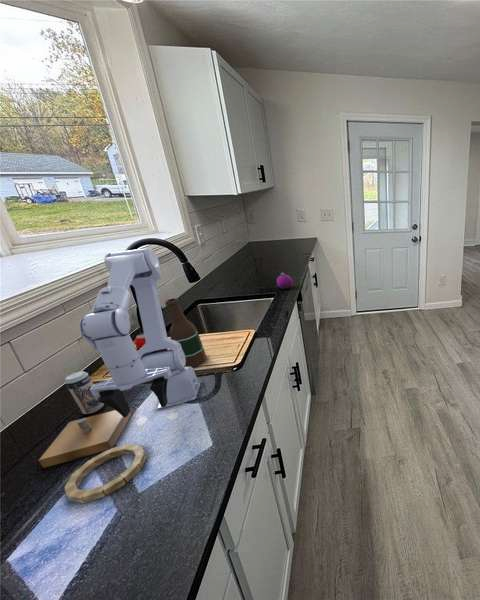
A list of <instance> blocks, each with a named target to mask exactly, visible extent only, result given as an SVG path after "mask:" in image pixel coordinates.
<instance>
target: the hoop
mask: <svg viewBox="0 0 480 600" xmlns="http://www.w3.org/2000/svg"><path fill="white" fill-rule="evenodd" d="M124 455H131V456H135V457H134V459H133V461H132V463H131V465H130V466H129V467H128V468H127V469H125V470H124V471H123V472H122V473H121V474H120V475H118V476H117V477H115V478H114V479H112V480H110V481H108V482H107V483H105V484H103V485H101V486H98V487H94V488H91V489H87V490H86V489H79V487H80V485H81V483H82V482H83V480H84V479H85V477H87V476H88V474H90V473H91V472H92V471H93V470H94V469H96V468H97V467H99V466H100V465H102V464H104V463H106V462H108V461H109V460H112V459H114V458H117V457H121V456H124ZM146 461H147V454H146V452H145V450H144V449H143V446H141V445H140V444H136V443H135V444H134V443H125V444H123V445H119V446H115V447H113V448H111V449H109V450H105V451H102V452H100V454H97V455H95V456H94V457H92V458H91V459H89V460H87V461H86V462H85V463H84V464H82V465H81V466H80V467H79V468H78V469H76V470H74V472H73V473H72V474H71V476H70V478H68V480H67V482H66V483H65V485H64V492H65V495H66V498H67V499H68V500H69V502H72V503H80V504H86V503H89V502H93V501H95V500H98V499H102V498H105V497H106V496H110V494H112V493H114V492H115V491H118V490H119V489H120V488H122V487H124V486H125V485H126V484H128V483H129V482H130V481H131V480H132V479H133V478H135V476H136V475H137V474H138V473H139V472H140V471H141V470H142V469H143V467H144V465H145V462H146Z"/></svg>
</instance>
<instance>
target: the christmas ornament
mask: <svg viewBox="0 0 480 600" xmlns="http://www.w3.org/2000/svg"><path fill="white" fill-rule="evenodd" d="M276 285H277V287H278V288H279V289H282V290H288V289H290V288H291V287H292V285H293V279H292V277H291V276H290V275H289V274H285V272H283V271H281V273H280V275H279V276H278V277H277V278H276Z"/></svg>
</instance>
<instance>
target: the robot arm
mask: <svg viewBox="0 0 480 600" xmlns="http://www.w3.org/2000/svg"><path fill="white" fill-rule="evenodd" d="M104 265H105V267H106V270H107V271H108V272H109V274H108V279H107V285H106V286H105V287H103V288H101V289H100V290H99V291H98V293H97V295H96V298H95V301H94V303H93V306H92V309H91V311H90V313H88V314H86V315H85V316H84V317H82V318H81V319H80V321H79V330H80V335H81V337H82V338H83V340H85V341H86V342H88V343H89V344H90V346H91V348H92V349H94V350H97V352H98V353H99V355H100V358H101V359H102V361H103V363H104V365H105V367H106V369H107V371H108V373H109V375H110V377H111V378H110V379H107V380H103V381H101V382H97V383H93V384H94V385H93V386H92V387H91V388H90V391H91V393H92V394H93V396H96V395H100V398H99V399H98V400H99V402H100V403H103V404H104V405H105V406H108V407H110V408H112V409H113V410H114V411H115V410H116V411H117V412H119V413H120V414H121V415H122V416H123V417H127V416H128V414H129V413H130V411H131V408H130V405H129V404H128V402H127V400H126V398H125V395H124V392H125V391H128V390H131V389H132V388H133V387H135V386H138V385H140V384H144V383H145V384H146V383H149V382H152V383H151V384H150V386H149V389H150V390H151V391H152V392H153V393H154V395H155V396H156V398H157V401H158V405H157V407H156V408H157V410H161V409H165V408H168V407H169V408H170V407H172V406H176V405H179V404H184V403H187V402H191V401H194V400H196V398H197V396H198V393H199V390H200V387H201V383H200V382H199V380H198V377H197V374H196V372H195V369H194V367H184V366H185V363H186V359H185V354H184V352H183V350H182V347H181V344H180V343H179V342H177V341H174V340H171V338H169V337H168V335H167V330H166V325H165V320H164V316H163V311H162V307H161V301H160V296H159V292H158V285H157V281H159V280H160V279H162V271H161V266H160V261H159V257H158V256H157V254H156V252H155V250H153V249H152V248H150V247H145V248H139V249H131V250H123V251H114V252H112V251H109V252H107V253H106V254H105V256H104ZM131 286H132V287H133V288H134V292H135V296H136V297H135V298H136V301H137V306H138V310H139V317H140V321H141V325H142V326H141V327H142V330H143V332H144V335H145V340H146V343H145V345H144V346H143V347H141V348H140V349H139V350H138V349H137V347H136V345H135V343H134V341H133V339H132V337H131V335H130V331H131V321H130V317H131V316H130V314H129V308H130V305H131V301H132V294H131V293H130V291H129V288H130V287H131ZM166 348H167V349H168V350H166V351H161V352H156V353H152V354H150V353H151V352H153V351H157V350H162V349H166Z"/></svg>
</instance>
